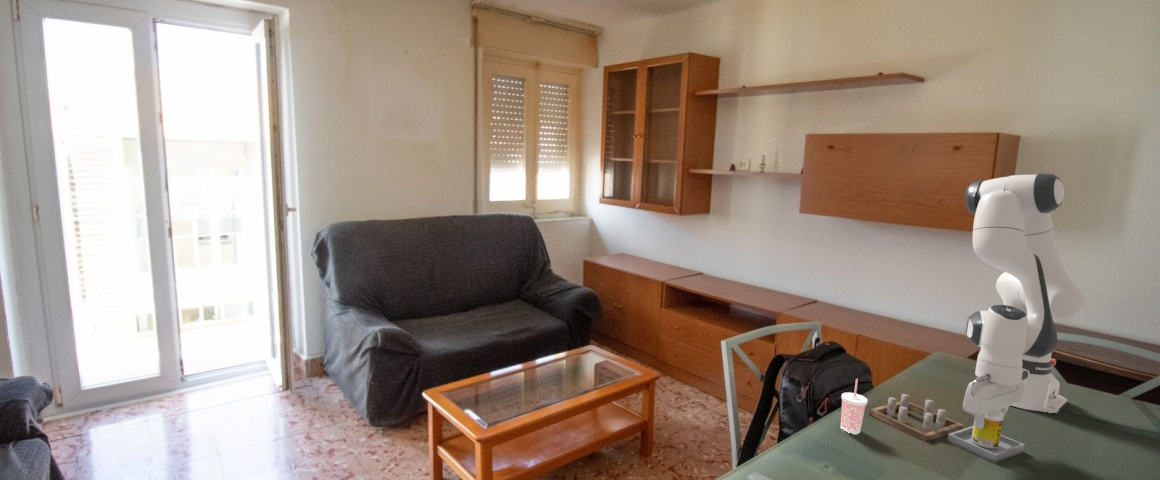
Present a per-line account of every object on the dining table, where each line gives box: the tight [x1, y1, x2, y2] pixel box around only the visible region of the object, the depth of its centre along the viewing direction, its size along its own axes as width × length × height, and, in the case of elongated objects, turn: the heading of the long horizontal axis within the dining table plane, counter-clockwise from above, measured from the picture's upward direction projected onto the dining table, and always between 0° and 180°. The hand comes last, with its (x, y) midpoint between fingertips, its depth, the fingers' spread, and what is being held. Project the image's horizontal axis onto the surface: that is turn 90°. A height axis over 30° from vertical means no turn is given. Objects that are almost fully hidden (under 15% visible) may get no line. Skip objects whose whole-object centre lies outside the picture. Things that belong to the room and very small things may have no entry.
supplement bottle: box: [972, 409, 1004, 449], centre depth 140 cm, size 6×6×10 cm
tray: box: [946, 425, 1026, 464], centre depth 141 cm, size 13×11×2 cm
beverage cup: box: [840, 378, 869, 435], centre depth 146 cm, size 6×6×14 cm
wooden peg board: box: [868, 393, 964, 442], centre depth 152 cm, size 16×16×5 cm
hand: (988, 424), depth 140 cm, fingers open, 7 cm apart
